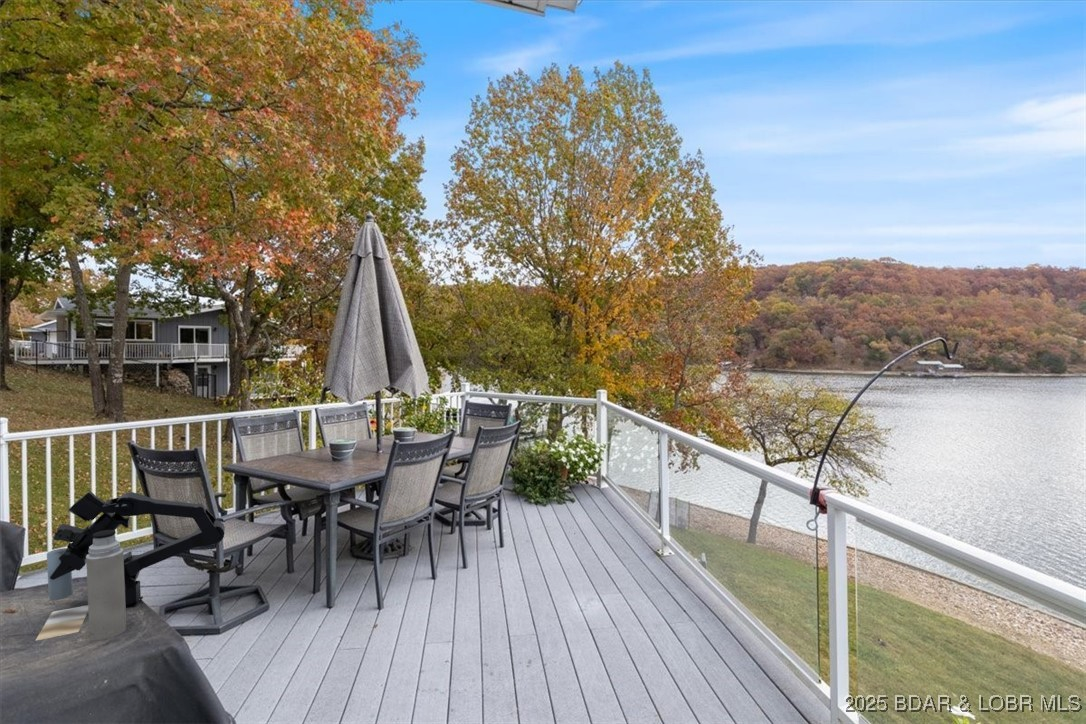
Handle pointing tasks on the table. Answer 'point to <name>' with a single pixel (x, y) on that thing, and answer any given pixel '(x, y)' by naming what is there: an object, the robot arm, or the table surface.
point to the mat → (63, 622)
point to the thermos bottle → (105, 586)
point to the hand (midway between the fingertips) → (53, 575)
